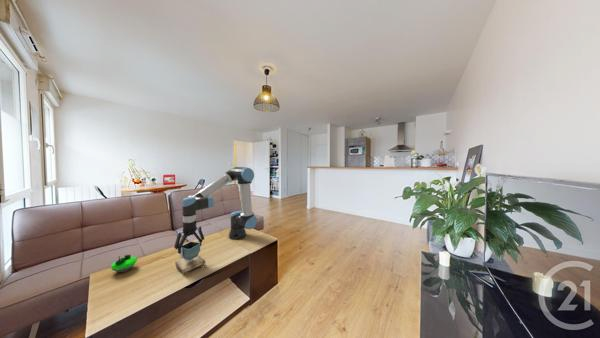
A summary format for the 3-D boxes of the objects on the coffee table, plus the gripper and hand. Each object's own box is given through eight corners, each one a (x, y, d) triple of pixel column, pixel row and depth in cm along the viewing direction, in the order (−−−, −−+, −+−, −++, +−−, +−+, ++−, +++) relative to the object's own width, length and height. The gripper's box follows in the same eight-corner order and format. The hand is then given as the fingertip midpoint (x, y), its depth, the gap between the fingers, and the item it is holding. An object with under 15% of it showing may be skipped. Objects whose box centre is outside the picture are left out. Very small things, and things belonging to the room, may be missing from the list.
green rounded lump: (128, 275, 110) (127, 258, 109) (105, 276, 108) (105, 259, 108) (141, 263, 122) (141, 248, 121) (122, 264, 120) (121, 249, 119)
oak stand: (196, 259, 128) (196, 253, 128) (205, 266, 120) (205, 260, 120) (175, 268, 118) (175, 262, 117) (183, 276, 110) (183, 269, 110)
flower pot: (179, 260, 116) (178, 247, 115) (191, 253, 124) (191, 241, 124) (189, 263, 113) (188, 249, 112) (201, 256, 121) (200, 243, 121)
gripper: (204, 215, 128) (205, 245, 130) (166, 224, 110) (168, 259, 112) (209, 217, 124) (210, 249, 125) (171, 227, 106) (172, 264, 107)
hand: (190, 254), depth 118 cm, fingers closed on flower pot, 10 cm apart
